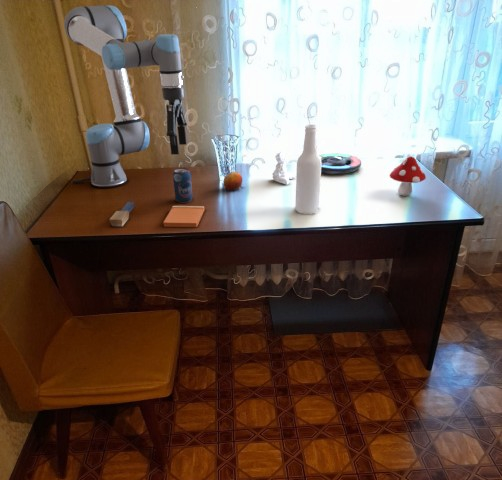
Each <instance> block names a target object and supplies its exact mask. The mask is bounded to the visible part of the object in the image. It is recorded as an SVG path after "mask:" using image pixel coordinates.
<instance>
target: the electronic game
mask: <svg viewBox="0 0 502 480" xmlns="http://www.w3.org/2000/svg"><path fill="white" fill-rule="evenodd" d="M318 155H319V157H320V159H321V163H322V165H321V173H324V174H328V175H329V174H331V175H344V174H349V173H352V172H355V171H356V170H358V169H359V168H360V167H361V166H362V161H361V160H360V159H359V158H358V157H357V156H354V155H350V154H346V153H345V154H344V153H323V154H318Z"/></svg>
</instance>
